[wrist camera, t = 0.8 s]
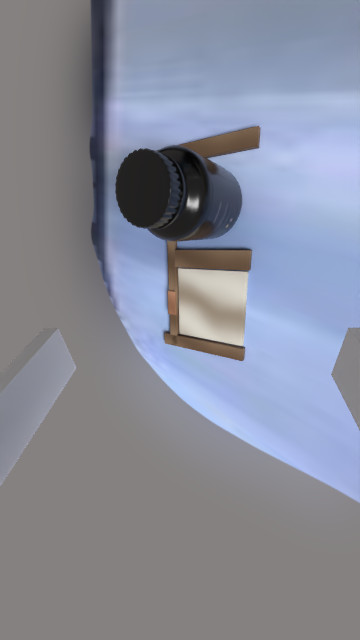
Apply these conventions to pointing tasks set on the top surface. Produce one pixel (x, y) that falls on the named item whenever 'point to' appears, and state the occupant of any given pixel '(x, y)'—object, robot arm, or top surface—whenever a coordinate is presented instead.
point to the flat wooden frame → (210, 277)
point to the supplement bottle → (177, 194)
